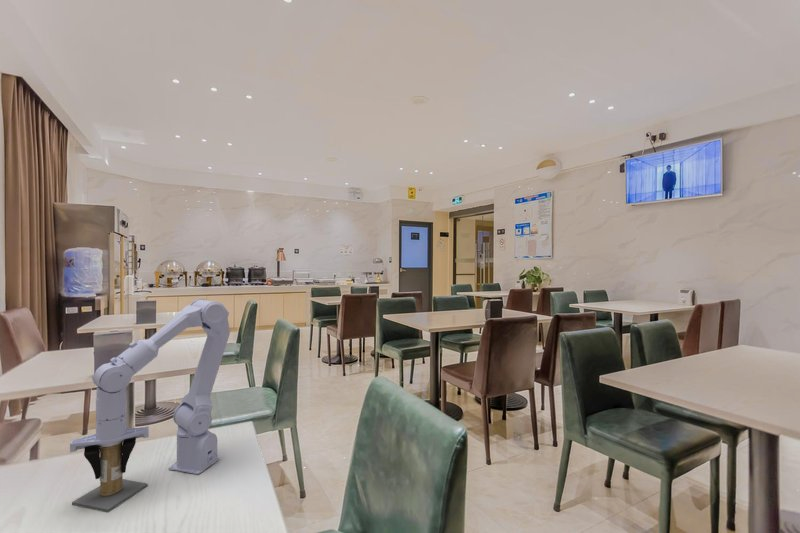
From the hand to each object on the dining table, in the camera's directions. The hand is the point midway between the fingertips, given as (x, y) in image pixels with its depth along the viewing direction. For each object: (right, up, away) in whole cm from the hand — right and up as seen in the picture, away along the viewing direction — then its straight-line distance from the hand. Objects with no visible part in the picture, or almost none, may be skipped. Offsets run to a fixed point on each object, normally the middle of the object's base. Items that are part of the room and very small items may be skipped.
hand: (111, 473), depth 90 cm
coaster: (0, -5, 0) cm, 5 cm away
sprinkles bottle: (0, -5, +1) cm, 5 cm away
